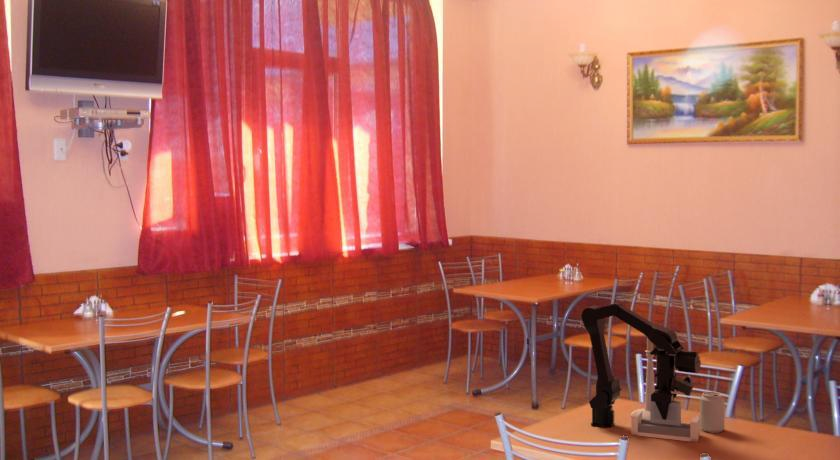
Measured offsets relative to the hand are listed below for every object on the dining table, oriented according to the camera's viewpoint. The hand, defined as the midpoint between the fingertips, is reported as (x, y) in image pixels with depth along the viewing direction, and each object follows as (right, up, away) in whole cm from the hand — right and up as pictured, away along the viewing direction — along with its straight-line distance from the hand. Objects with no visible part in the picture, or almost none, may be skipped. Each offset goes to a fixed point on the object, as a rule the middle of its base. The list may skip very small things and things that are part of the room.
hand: (665, 418), depth 264 cm
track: (0, -5, 0) cm, 5 cm away
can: (+17, -5, +5) cm, 18 cm away
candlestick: (+1, -5, +21) cm, 21 cm away
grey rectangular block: (0, -2, 0) cm, 2 cm away
